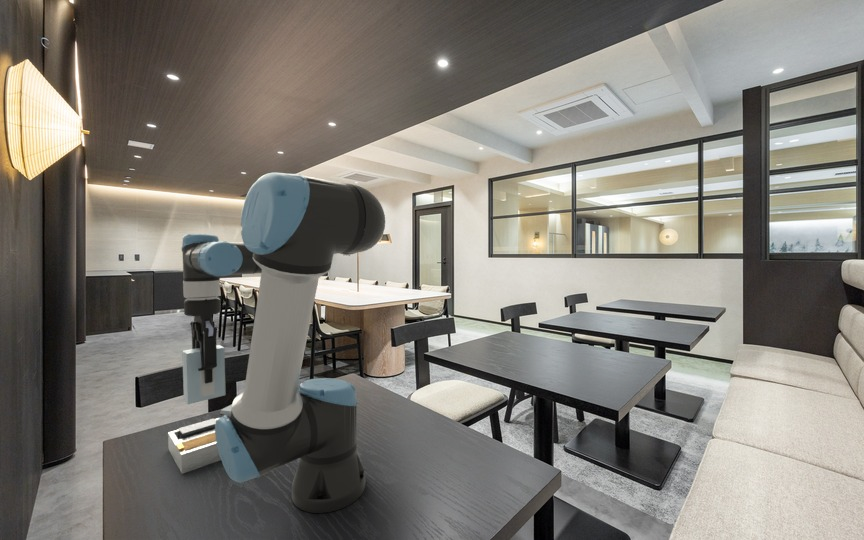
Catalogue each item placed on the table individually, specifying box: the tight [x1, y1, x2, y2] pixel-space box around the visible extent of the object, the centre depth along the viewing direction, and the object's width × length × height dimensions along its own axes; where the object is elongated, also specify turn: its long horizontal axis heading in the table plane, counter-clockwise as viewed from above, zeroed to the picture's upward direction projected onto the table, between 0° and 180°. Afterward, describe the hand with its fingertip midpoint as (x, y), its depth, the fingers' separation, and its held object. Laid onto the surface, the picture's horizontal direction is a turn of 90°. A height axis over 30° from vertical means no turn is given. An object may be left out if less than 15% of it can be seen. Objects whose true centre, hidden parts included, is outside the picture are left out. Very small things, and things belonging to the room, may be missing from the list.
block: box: [181, 344, 227, 405], centre depth 90 cm, size 4×8×12 cm, turn 135°
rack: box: [167, 417, 221, 475], centre depth 93 cm, size 15×12×6 cm
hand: (205, 392), depth 90 cm, fingers closed on block, 4 cm apart
